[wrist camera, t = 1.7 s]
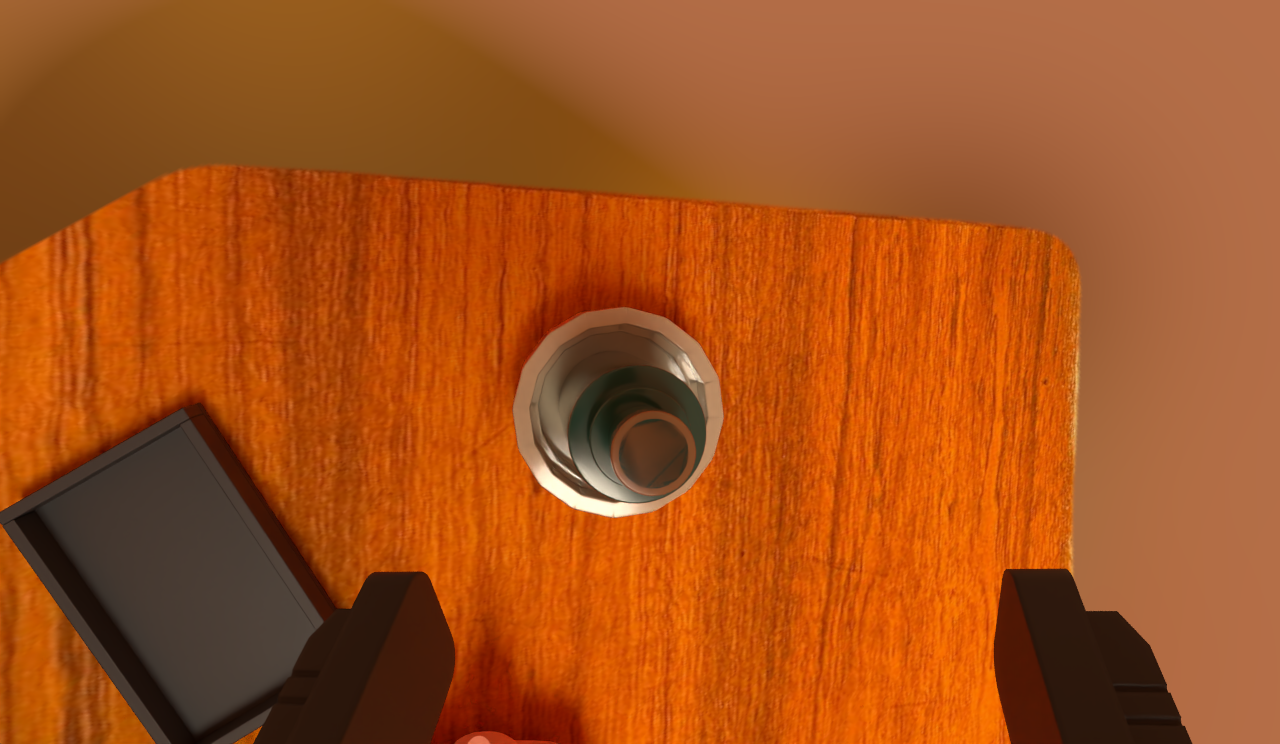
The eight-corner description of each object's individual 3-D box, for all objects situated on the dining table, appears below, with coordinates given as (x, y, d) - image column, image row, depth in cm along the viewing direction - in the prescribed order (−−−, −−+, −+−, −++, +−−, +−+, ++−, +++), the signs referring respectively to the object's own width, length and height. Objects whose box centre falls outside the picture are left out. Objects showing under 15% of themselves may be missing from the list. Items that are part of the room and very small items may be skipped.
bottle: (538, 385, 45) (542, 426, 30) (631, 330, 46) (683, 343, 30) (593, 477, 46) (625, 562, 31) (684, 422, 46) (760, 480, 31)
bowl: (479, 370, 45) (473, 377, 41) (645, 273, 46) (657, 269, 42) (577, 531, 47) (582, 555, 42) (737, 435, 47) (759, 448, 43)
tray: (22, 504, 43) (-7, 515, 41) (200, 402, 44) (182, 407, 42) (196, 752, 45) (178, 776, 43) (364, 651, 46) (355, 669, 43)
